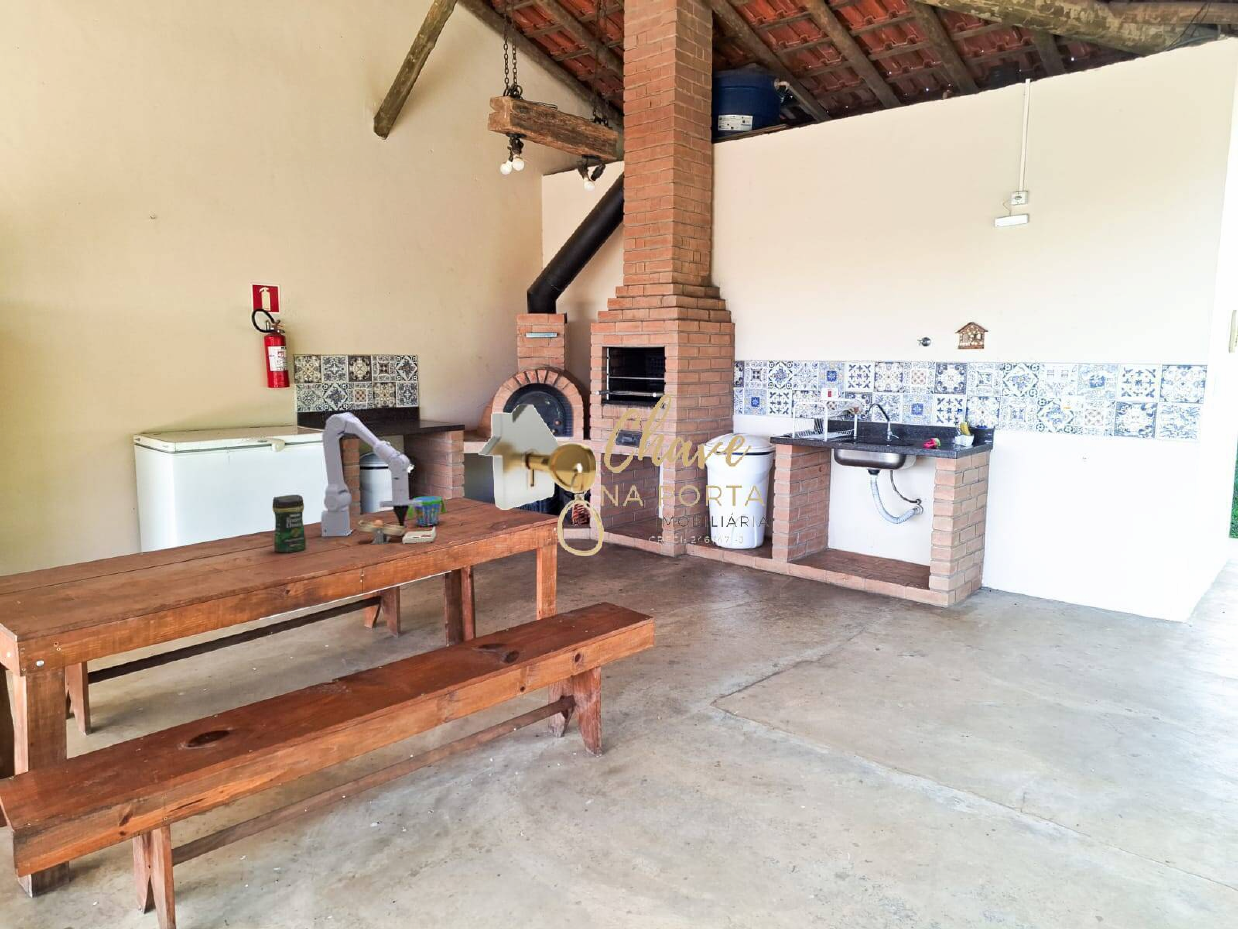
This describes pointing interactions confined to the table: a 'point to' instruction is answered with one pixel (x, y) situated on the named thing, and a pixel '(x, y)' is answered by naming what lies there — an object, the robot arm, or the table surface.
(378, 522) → the ball
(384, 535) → the stand
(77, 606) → the table surface
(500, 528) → the table surface
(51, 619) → the table surface
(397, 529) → the lever
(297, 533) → the coffee jar
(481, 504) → the table surface
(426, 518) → the snack cup
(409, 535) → the dish
